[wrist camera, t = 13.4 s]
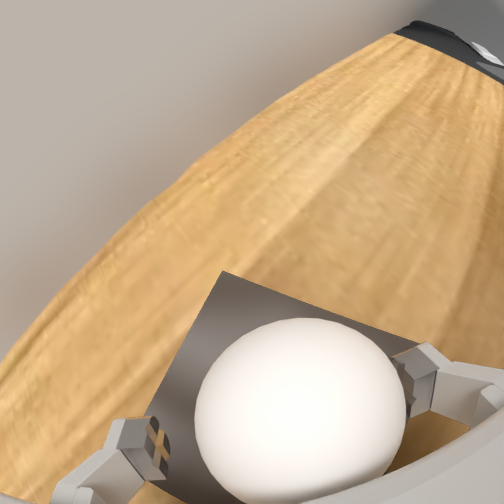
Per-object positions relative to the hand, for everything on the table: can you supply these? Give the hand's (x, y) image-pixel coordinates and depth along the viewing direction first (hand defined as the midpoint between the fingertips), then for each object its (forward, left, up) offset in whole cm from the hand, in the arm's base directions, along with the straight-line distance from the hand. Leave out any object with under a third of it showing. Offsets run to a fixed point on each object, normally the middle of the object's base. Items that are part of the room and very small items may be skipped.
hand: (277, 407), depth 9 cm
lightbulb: (0, +1, -7) cm, 7 cm away
